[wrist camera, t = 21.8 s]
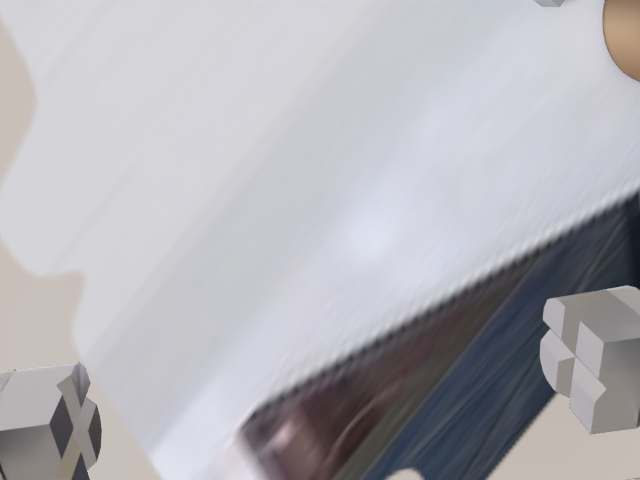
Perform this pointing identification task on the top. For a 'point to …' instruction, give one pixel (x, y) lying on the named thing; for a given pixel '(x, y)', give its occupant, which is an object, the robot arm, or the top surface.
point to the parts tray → (550, 3)
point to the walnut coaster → (623, 34)
